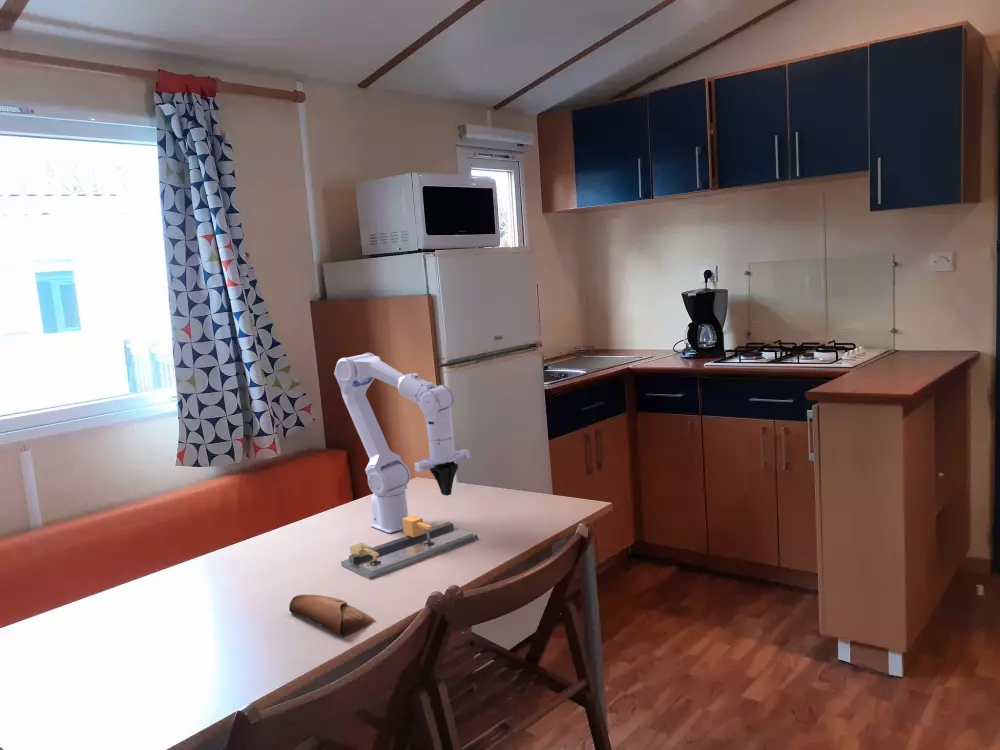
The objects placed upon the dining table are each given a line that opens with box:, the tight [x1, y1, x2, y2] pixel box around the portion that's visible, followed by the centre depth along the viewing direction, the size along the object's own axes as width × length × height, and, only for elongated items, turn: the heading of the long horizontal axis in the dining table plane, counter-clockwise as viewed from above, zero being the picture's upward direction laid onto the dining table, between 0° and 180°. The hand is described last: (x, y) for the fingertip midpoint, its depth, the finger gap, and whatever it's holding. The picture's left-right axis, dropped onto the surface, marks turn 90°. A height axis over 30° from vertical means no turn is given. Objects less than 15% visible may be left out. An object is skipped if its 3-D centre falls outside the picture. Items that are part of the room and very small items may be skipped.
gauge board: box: [340, 521, 479, 580], centre depth 180 cm, size 12×29×4 cm, turn 129°
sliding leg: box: [402, 514, 433, 543], centre depth 182 cm, size 9×3×4 cm, turn 39°
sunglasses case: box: [288, 594, 377, 638], centre depth 149 cm, size 18×7×7 cm
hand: (446, 494), depth 188 cm, fingers closed
